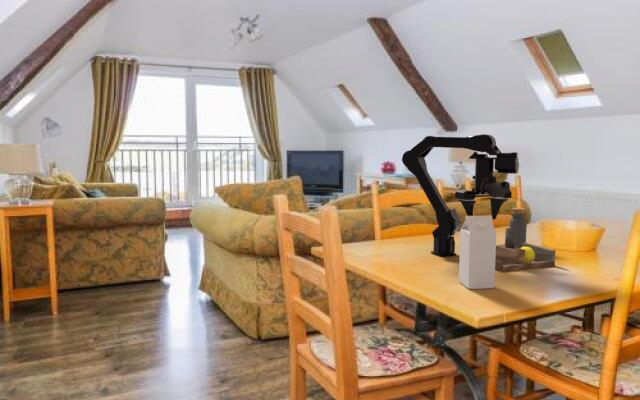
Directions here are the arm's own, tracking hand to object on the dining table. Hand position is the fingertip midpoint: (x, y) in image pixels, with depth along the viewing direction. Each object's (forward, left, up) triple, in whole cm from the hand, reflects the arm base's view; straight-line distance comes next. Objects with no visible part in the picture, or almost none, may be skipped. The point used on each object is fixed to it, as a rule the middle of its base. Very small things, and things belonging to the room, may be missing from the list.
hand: (482, 220), depth 166 cm
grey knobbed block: (+3, -10, -13) cm, 17 cm away
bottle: (+22, +8, -13) cm, 27 cm away
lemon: (+10, -10, -13) cm, 19 cm away
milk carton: (-22, -26, -13) cm, 37 cm away
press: (+5, -10, -13) cm, 17 cm away
